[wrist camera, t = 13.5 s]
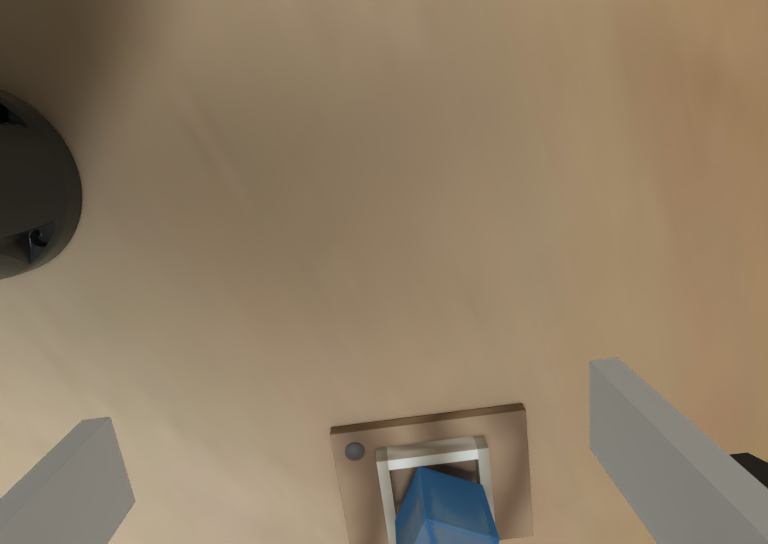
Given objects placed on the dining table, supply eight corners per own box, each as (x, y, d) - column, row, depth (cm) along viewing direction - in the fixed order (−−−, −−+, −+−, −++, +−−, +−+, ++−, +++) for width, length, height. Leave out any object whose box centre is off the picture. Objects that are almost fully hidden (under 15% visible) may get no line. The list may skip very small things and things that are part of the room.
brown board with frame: (352, 548, 49) (351, 575, 46) (331, 427, 45) (328, 448, 42) (529, 526, 49) (540, 552, 46) (521, 403, 45) (532, 422, 42)
